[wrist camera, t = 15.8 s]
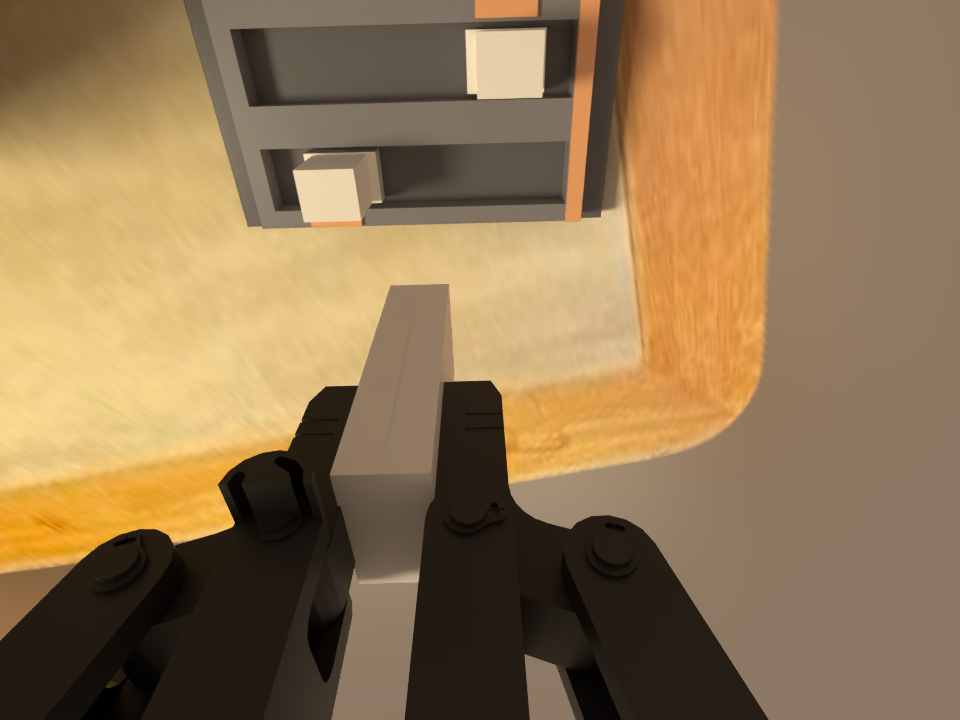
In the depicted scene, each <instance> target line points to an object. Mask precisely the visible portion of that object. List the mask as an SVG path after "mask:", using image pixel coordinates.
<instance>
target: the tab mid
mask: <svg viewBox="0 0 960 720" xmlns="http://www.w3.org/2000/svg"><path fill="white" fill-rule="evenodd" d="M546 33H547V27H546V28H511V29H476V30H465V35H466V65H467V94H477V99H509V98H542V94H543V92H544V81H545V57H546Z"/></svg>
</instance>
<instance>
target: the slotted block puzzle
mask: <svg viewBox="0 0 960 720" xmlns="http://www.w3.org/2000/svg"><path fill="white" fill-rule="evenodd" d="M183 1H184V4H185V8H186V11H187V15H188V18H189V22H190V25H191V29H192V32H193V36H194V39H195V43H196V46H197V50H198V53H199V57H200V60H201V64H202V67H203V71H204V74H205V78H206V81H207V85H208V88H209V92H210V95H211V99H212V102H213V106H214V109H215V113H216V116H217V120H218V123H219V127H220V130H221V134H222V137H223V141H224V144H225V148H226V151H227V155H228V158H229V162H230V165H231V169H232V172H233V176H234V179H235V183H236V186H237V190H238V193H239V197H240V200H241V204H242V207H243V211H244V214H245V218H246V221H247V225H248V227H250V226H262V228H263V229H266V228H304V227H312V228H314V227H352V226H380V225H418V224H457V223H495V222H533V221H565V222H574V221H581V218H593V217H601V209H602V200H603V190H604V181H605V172H606V163H607V154H608V145H609V136H610V127H611V118H612V109H613V100H614V91H615V82H616V73H617V64H618V55H619V46H620V37H621V28H622V18H623V9H624V0H183ZM546 27H547V33H546V57H545V81H544V92H543V94H542V98H509V99H477V94H467V65H466V35H465V30H476V29H511V28H546ZM349 148H379V154H380V162H381V169H382V177H383V185H384V193H385V198H384V200H383V202H382V203H372V204H371V206H370V207H369V209H368V211H367V212H366V214H365V216H364V217H363V219H362V221H340V222H304V220H303V215H302V211H301V206H300V202H299V197H298V193H297V188H296V184H295V179H294V175H293V170H294V169H295V168H297V167H298V166H299V165H301V164H302V163H303V162H305V161H304V156H303V154H304V153H305V152H306V151H308V150H312V149H349Z"/></svg>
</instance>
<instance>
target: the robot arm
mask: <svg viewBox="0 0 960 720" xmlns="http://www.w3.org/2000/svg"><path fill="white" fill-rule="evenodd" d="M218 486H219V488H220V490H221V493H222V495H223V497H224V499H225V501H226V504H227V506H228V508H229V510H230V512H231V515H232V517H233V519H234V521H235V524H234V526H233V527H232V528H230V529H227V530H224V531H222V532H219V533H216V534H213V535H209V536H206V537H203V538H199V539H196V540H192V541H189V542H185V543H182V544H178V545H175V546H174V544H173V543H172V541H171V539H170V537H169V536H168V535H167V534H165V533H163V532H161V531H158V530H156V529H139V530H135V531H132V532H128V533H124V534H121V535H118V536H117V537H115V538H113V539H111V540H109V541H107V542H105V543H103V544H101V545H99V546H98V547H97V548H96V549H94V550H93V551H92V552H91V553H89V554H88V555H87V556H86V557H85V558H83V559H82V560H81V561H80V562H79V563H78V564H77V565H76V566H75V567H74V568H73V569H72V570H71V571H70V572H69V573H68V574H67V575H66V576H65V577H64V578H63V579H62V580H61V581H60V582H59V583H58V584H57V585H56V586H55V587H54V588H53V589H52V590H51V591H50V592H49V593H48V594H47V595H46V596H45V597H44V598H43V599H42V600H41V601H40V602H39V603H38V604H37V605H36V606H35V607H34V608H33V609H32V610H31V611H30V612H29V613H28V614H27V615H26V616H25V617H24V618H23V619H22V620H21V621H20V622H19V623H18V624H17V625H16V626H15V627H14V628H13V629H12V630H11V631H10V632H9V633H8V634H7V635H6V636H5V637H4V638H3V639H2V640H1V641H0V720H331V718H332V713H333V708H334V703H335V699H336V694H337V689H338V684H339V679H340V674H341V669H342V664H343V659H344V654H345V649H346V644H347V639H348V634H349V630H350V624H351V620H352V601H351V598H350V595H349V588H350V584H351V580H352V575H353V570H354V568H355V572H356V575H357V579H358V583H359V584H364V583H402V582H403V583H404V582H419V583H418V593H417V603H416V614H415V623H414V633H413V642H412V652H411V662H410V672H409V682H408V693H407V702H406V712H405V720H530V718H529V706H528V693H527V682H526V668H525V656H524V654H526V655H529V656H532V657H535V658H538V659H540V660H543V661H546V662H549V663H552V664H555V665H556V666H557V669H558V672H559V674H560V677H561V680H562V683H563V685H564V688H565V691H566V694H567V696H568V699H569V702H570V705H571V708H572V710H573V713H574V715H575V718H576V720H768V718H767V717H766V715H765V713H764V712H763V710H762V709H761V707H760V706H759V704H758V703H757V701H756V699H755V698H754V696H753V695H752V693H751V692H750V691H749V689H748V687H747V685H746V684H745V683H744V681H743V679H742V678H741V676H740V675H739V673H738V671H737V670H736V668H735V667H734V665H733V664H732V662H731V661H730V659H729V658H728V656H727V654H726V653H725V652H724V650H723V648H722V647H721V645H720V643H719V642H718V640H717V639H716V637H715V636H714V634H713V633H712V631H711V629H710V628H709V626H708V625H707V623H706V622H705V620H704V619H703V617H702V615H701V614H700V612H699V611H698V609H697V608H696V606H695V605H694V603H693V601H692V600H691V598H690V597H689V595H688V594H687V592H686V591H685V589H684V587H683V586H682V584H681V583H680V581H679V580H678V578H677V577H676V575H675V573H674V572H673V570H672V569H671V567H670V566H669V564H668V563H667V561H666V560H665V558H664V556H663V555H662V553H661V552H660V550H659V549H658V547H657V546H656V544H655V543H654V542H653V541H652V540H651V538H650V537H649V536H648V535H647V534H646V533H645V532H644V530H643V529H641V528H639V527H638V526H636V525H634V524H633V523H631V522H629V521H627V520H625V519H621V518H617V517H613V516H609V515H605V516H591V517H589V518H586V519H584V520H582V521H580V522H577V523H576V524H575V525H574V526H573V528H572V529H568V528H564V527H560V526H556V525H552V524H549V523H546V522H543V521H540V520H537V519H535V518H533V517H532V516H530V515H529V514H527V513H525V512H524V511H523V510H522V509H521V508H520V507H519V506H518V505H517V504H516V502H515V501H514V499H513V497H512V496H511V493H510V489H509V485H508V472H507V460H506V447H505V435H504V422H503V410H502V397H501V394H500V393H499V391H498V390H497V389H496V387H495V386H494V385H493V383H492V382H491V381H459V382H454V360H453V344H452V328H451V313H450V297H449V284H435V285H398V286H390V289H389V292H388V295H387V299H386V302H385V305H384V308H383V311H382V314H381V317H380V320H379V323H378V327H377V330H376V333H375V336H374V339H373V342H372V345H371V348H370V351H369V354H368V358H367V361H366V364H365V367H364V370H363V373H362V376H361V379H360V382H359V386H330V387H325V388H324V389H323V390H322V391H321V392H319V393H318V394H317V395H316V396H315V397H314V398H313V399H312V400H311V401H310V402H309V404H308V406H307V409H306V411H305V413H304V415H303V418H302V423H300V425H299V427H298V429H297V431H296V434H295V438H293V440H292V443H291V445H290V447H289V449H288V451H281V450H278V451H272V452H266V453H261V454H258V455H256V456H254V457H251V458H249V459H246V460H244V461H242V462H241V463H240V464H238V465H237V466H235V467H234V468H233V469H231V470H230V471H228V473H227V474H226V475H225V476H224V478H223V479H222V480H221V481H220V483H219V484H218Z"/></svg>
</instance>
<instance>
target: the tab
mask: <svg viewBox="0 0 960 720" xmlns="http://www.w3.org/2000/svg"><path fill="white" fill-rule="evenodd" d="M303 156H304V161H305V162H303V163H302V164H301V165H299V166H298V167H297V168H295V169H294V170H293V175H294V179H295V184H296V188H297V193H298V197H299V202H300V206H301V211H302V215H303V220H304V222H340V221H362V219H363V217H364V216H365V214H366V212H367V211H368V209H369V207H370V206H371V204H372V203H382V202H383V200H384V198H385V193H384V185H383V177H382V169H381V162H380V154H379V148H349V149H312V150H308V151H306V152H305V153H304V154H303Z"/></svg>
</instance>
